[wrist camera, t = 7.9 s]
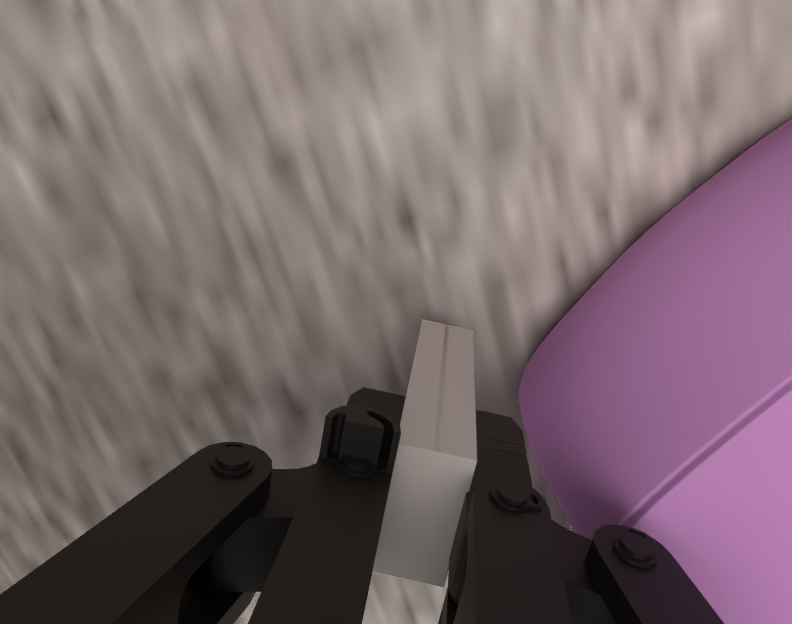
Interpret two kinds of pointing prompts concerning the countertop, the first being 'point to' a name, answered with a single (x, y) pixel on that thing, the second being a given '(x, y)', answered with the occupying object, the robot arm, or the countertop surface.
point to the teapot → (686, 389)
